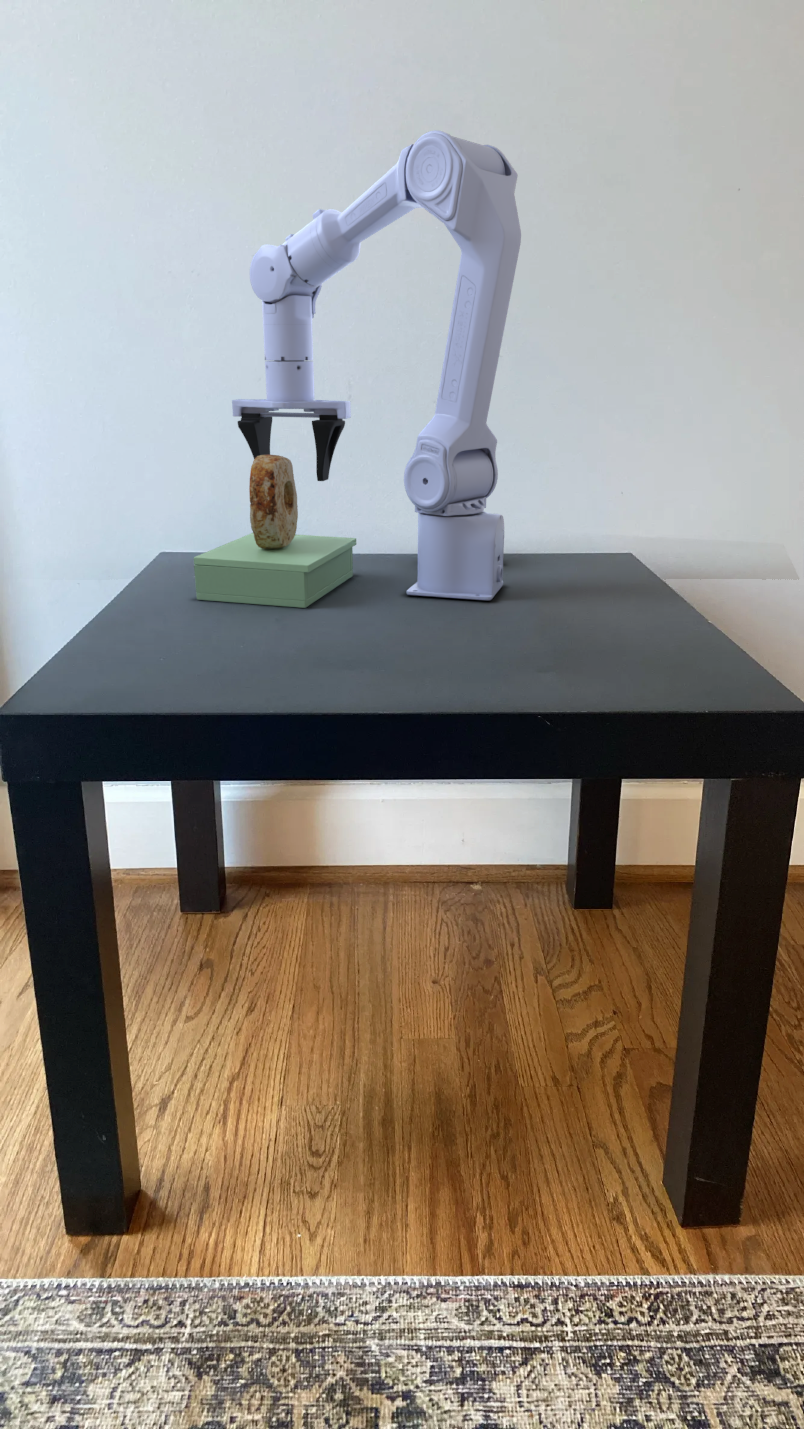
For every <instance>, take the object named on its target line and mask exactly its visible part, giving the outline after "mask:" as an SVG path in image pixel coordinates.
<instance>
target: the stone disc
mask: <svg viewBox="0 0 804 1429" xmlns="http://www.w3.org/2000/svg"><path fill="white" fill-rule="evenodd" d="M249 474H250V475H249V489H248V490H249V491H248V492H249V523H250V529H251V531H252V533H253V534H254V539H255V541H256V544H257V546H258V547H260V548H263V549H276V548H282V547H286V546H287V545H289V544H290V543H291V541H292V540H293V538H294V536H295V534H296V533H297V529H298V528H297V527H298V518H299V511H298V494H297V489H296V488H297V487H296V482H295V476H294V467H293V463H292V461H291V459H289V458H288V457H285V456H283V455H280V454H279V455H277V454H270V455H260V456H257V457H256V458H255V459H254V458H253V461H252V463H251V467H250V473H249Z"/></svg>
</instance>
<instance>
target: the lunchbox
mask: <svg viewBox="0 0 804 1429" xmlns="http://www.w3.org/2000/svg"><path fill="white" fill-rule="evenodd" d="M353 554H354V552H353V547H351V548H350V549H348V550H346V551H345V552H343V553H341V554H339V555H338V556H336V557H334V558H333V559H331V560H329V561H327V562H326V563H324V564H322V565H321V566H319V567H317V568H315V569H314V570H312V571H310V572H309V573H306V572H292V571H278V570H264V569H250V568H236V567H222V566H208V565H195V564H193V570H194V582H195V593H196V594H195V595H196V600H197V601H209V602H210V601H211V602H223V603H235V604H246V605H247V604H248V605H260V606H261V605H262V606H274V607H285V608H286V607H287V608H298V609H299V608H300V609H302V608H303V609H306V608H307V607H309V606H310V605H312V604H314V603H315V602H317V601H318V600H319V599H321V598H322V597H324V596H325V595H327V594H328V593H330V592H331V591H333V590H334V589H336V588H337V587H339V586H341V585H342V584H343V583H345V582H347V581H348V580H349V579H351V578H353V577H354V562H353V561H354V560H353V559H354V558H353V556H354V555H353Z"/></svg>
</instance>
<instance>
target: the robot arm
mask: <svg viewBox="0 0 804 1429" xmlns="http://www.w3.org/2000/svg"><path fill="white" fill-rule="evenodd" d="M518 177H519V176H518V173H517V171H516V170H515V168H514V167H513V166H512V163H510V161H509V160H508V158H507V157H506V155H505V154H504V153H503V152H502V151H501V149H499V148H498V147H496V146H493V145H490V144H481V143H477V142H473V141H470V140H467V139H463V138H459V137H456V136H453V135H451V134H450V133H447V132H445V131H443V130H439V129H434V130H430V131H426V132H425V133H423V134H422V135H420V137H418V138H417V139H416V141H414V143H411V144H410V145H407V146H405V147H403V148H402V149H401V151H400V154H399V157H398V160H397V162H396V163H395V164H394V165H393V166H392V167H391V168H390V169H388V170H387V172H385V173H384V174H383V175H382V176H381V177H380V178H379V179H378V180H376V181H375V182H374V183H373V184H372V185H371V186H370V187H369V188H367V189H366V190H365V191H364V192H363V193H362V194H361V195H360V196H359V197H357V198H356V199H355V200H354V201H353V202H352V203H351V204H349V205H348V206H347V208H345V209H344V210H343V211H342V212H341V211H340V210H337V209H333V208H329V209H322V208H319V209H317V210H316V211H315V212H313V213H312V216H311V217H312V219H313V220H311V221H310V222H309V223H307V224H305V226H303V227H302V228H301V229H300V230H299V231H297V232H296V233H295V234H294V233H290V234H289V235H287V236H286V237H285V239H284V240H285V241H284V242H283V243H282V244H279V245H278V246H277V245H275V244H262V245H261V246H260V247H259V249H257V251H256V252H255V253H254V255H253V257H252V259H251V262H250V266H249V282H250V286H251V288H252V291H253V293H254V295H255V296H256V297H257V298H258V299H259V300H261V309H262V310H261V311H262V330H263V353H264V369H265V370H264V371H265V372H264V374H265V391H266V392H265V394H266V398H265V399H263V398H256V399H255V398H251V399H249V398H237V399H232V400H231V406H232V407H231V408H232V409H231V410H232V417H240V420H237V427H238V429H239V431H240V432H241V434H242V436H243V437H244V439H245V441H246V443H247V445H248V448H249V449H250V452H251V454H252V457H253V460H254V459H255V458H256V457H257V456H260V455H271V435H272V425H273V418H307V419H309V418H310V419H311V418H313V419H314V420H312V421H311V426H312V427H311V428H312V431H313V437H314V444H315V454H316V460H315V462H316V466H315V467H316V480H317V482H325V481H328V480H329V477H330V470H331V465H332V460H333V456H334V453H335V450H336V447H337V445H338V441H339V439H340V437H341V435H342V432H343V431H344V428H345V426H346V421H345V420H347V419H351V418H352V410H351V409H352V406H351V405H352V403H351V401H350V400H330V399H329V400H328V399H327V400H326V399H315V369H314V368H315V365H314V364H315V363H314V337H313V336H314V334H313V319H314V318H315V315H316V312H317V311H316V303H317V299H318V297H319V295H320V293H321V291H322V287H323V286H322V285H323V284H324V283H325V282H327V281H328V280H329V279H331V278H333V277H334V276H335V275H337V274H338V273H340V272H341V271H342V270H344V269H346V267H348V266H350V265H351V264H353V263H354V262H355V261H356V260H358V258H359V256H360V252H361V246H362V242H364V241H365V240H367V239H368V238H370V237H372V236H373V235H376V233H379V231H381V230H383V229H384V228H386V227H388V226H389V225H392V224H393V223H394V222H396V221H397V220H400V218H402V217H404V216H405V215H407V214H408V213H410V212H412V211H413V210H415V209H424V210H425V211H427V212H428V213H429V214H430V215H432V216H433V217H434V218H436V220H438V221H440V222H441V223H443V225H444V226H445V228H446V229H447V231H448V233H449V234H450V235H451V236H452V239H453V240H454V241H455V243H456V244H457V246H458V247H459V249H460V260H459V265H458V272H457V278H456V283H455V289H454V297H453V302H452V308H451V314H450V320H449V326H448V333H447V337H446V344H445V350H444V356H443V362H442V368H441V374H440V380H439V387H438V394H437V398H436V404H435V410H434V415H433V417H432V418H431V419H430V420H429V422H428V423H427V424H426V425H425V426H424V427H423V429H422V430H421V431H420V432H419V433H418V435H417V437H416V443H415V449H414V452H413V453H412V455H411V457H410V458H409V460H408V461H407V463H406V465H405V468H404V473H403V485H404V486H403V487H404V490H405V492H406V495H407V497H408V499H409V500H410V502H411V504H413V505H414V513H417V576H416V578H417V580H416V582H415V583H414V584H412V585H411V586H410V587H409V588H408V589H406V595H407V596H417V597H418V596H420V597H430V598H431V597H432V598H447V599H460V600H473V601H474V600H475V601H492V600H493V598H494V597H495V596H496V595H497V594H498V592H499V591H500V590H501V588H502V587H503V585H504V581H503V578H504V576H503V575H504V574H503V573H504V553H505V552H504V551H505V550H504V548H505V521H504V516H503V514H501V513H495V512H494V513H492V512H487V511H485V509H486V508H487V499H488V498H489V497H490V496H491V495H492V494H493V492H494V491H495V489H496V486H497V483H498V478H499V470H498V464H497V460H496V451H497V445H498V439H497V437H496V436H495V434H494V433H493V431H492V430H491V429H490V427H489V426H488V424H487V421H488V418H489V412H490V411H489V410H490V406H491V401H492V394H493V390H494V384H495V379H496V374H497V369H498V364H499V359H500V352H501V349H502V348H501V347H502V342H503V337H504V332H505V327H506V321H507V317H508V312H509V307H510V300H511V296H512V290H513V286H514V280H515V275H516V270H517V266H518V265H517V264H518V258H519V254H520V249H521V243H522V230H521V225H520V219H519V218H520V217H519V213H518V207H517V202H516V196H515V192H516V187H517V183H518V182H517V181H518ZM279 410H303V412H283V411H279ZM315 418H316V419H315Z"/></svg>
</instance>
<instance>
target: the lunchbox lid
mask: <svg viewBox="0 0 804 1429" xmlns="http://www.w3.org/2000/svg"><path fill="white" fill-rule="evenodd" d="M356 545H357V538H356V537H343V536H329V535H328V536H327V535H312V534H311V535H310V534H296V533H295V536H294V538H293V540H292V541H291V543H290V544H289V545H287V546H286V547H282V548H276V549H263V548H260V547H258V546H257V544H256V541H255V539H254V534H253V532H251V533H249V534H246V535H244V536H242V537H239V538H236V539H234V540H232V541H230V542H227V543H225V544H223V545H220V546H217V547H215V548H213V549H210V550H208V551H205V552H202V553H201V554H198V555H196V556H194V557H193V565H208V566H222V567H236V568H250V569H264V570H278V571H292V572H306V573H309V572H310V571H312V570H314V569H315V568H317V567H319V566H321V565H322V564H324V563H326V562H327V561H329V560H331V559H333V558H334V557H336V556H338V555H339V554H341V553H343V552H345V551H346V550H348V549H350V548H351V547H352V548H353V547H355V546H356Z"/></svg>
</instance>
